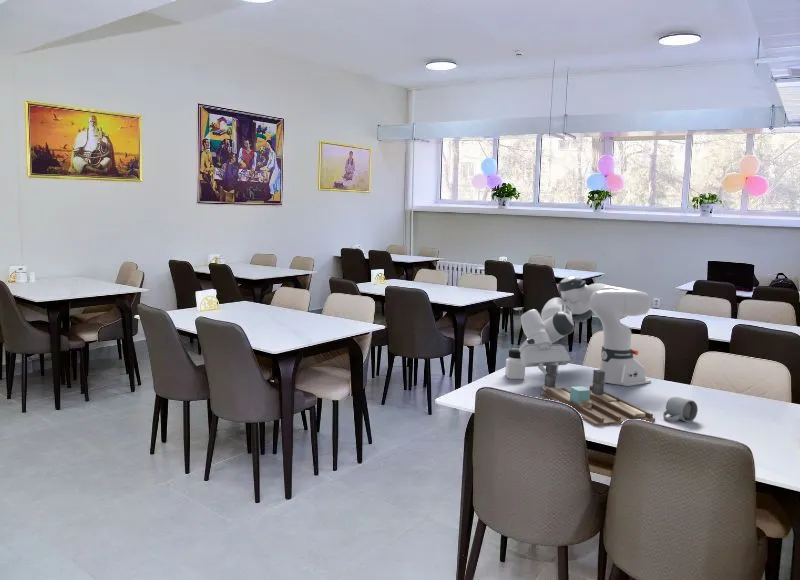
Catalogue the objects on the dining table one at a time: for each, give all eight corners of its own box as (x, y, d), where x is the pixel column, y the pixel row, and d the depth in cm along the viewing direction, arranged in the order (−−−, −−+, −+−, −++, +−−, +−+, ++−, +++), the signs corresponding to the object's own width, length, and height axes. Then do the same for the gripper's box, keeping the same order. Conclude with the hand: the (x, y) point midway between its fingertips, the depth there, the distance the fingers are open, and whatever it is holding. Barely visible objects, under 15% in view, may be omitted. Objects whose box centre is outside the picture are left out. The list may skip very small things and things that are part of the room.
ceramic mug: (678, 413, 232) (679, 393, 231) (697, 420, 224) (699, 399, 223) (656, 417, 227) (658, 396, 226) (675, 425, 220) (677, 403, 219)
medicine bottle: (524, 379, 272) (526, 351, 271) (507, 378, 272) (509, 351, 271) (521, 375, 279) (523, 348, 278) (505, 374, 279) (506, 347, 278)
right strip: (553, 387, 257) (554, 362, 255) (591, 407, 232) (593, 380, 231) (542, 388, 255) (543, 363, 254) (579, 408, 231) (581, 381, 229)
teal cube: (581, 399, 238) (582, 386, 237) (589, 403, 233) (590, 390, 233) (569, 400, 236) (570, 387, 236) (577, 404, 232) (578, 390, 231)
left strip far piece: (620, 404, 237) (620, 401, 237) (645, 416, 224) (645, 413, 224) (608, 405, 236) (608, 402, 235) (633, 417, 222) (633, 414, 222)
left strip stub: (600, 395, 248) (602, 369, 247) (616, 402, 239) (618, 376, 238) (589, 395, 247) (591, 370, 245) (605, 403, 237) (607, 376, 236)
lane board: (593, 391, 257) (594, 385, 256) (655, 421, 223) (655, 413, 223) (540, 395, 249) (541, 388, 249) (595, 426, 216) (596, 418, 215)
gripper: (559, 347, 266) (571, 376, 259) (515, 349, 260) (525, 379, 252) (566, 339, 262) (578, 368, 254) (521, 341, 255) (532, 371, 248)
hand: (551, 374), depth 253 cm, fingers closed on right strip, 3 cm apart
